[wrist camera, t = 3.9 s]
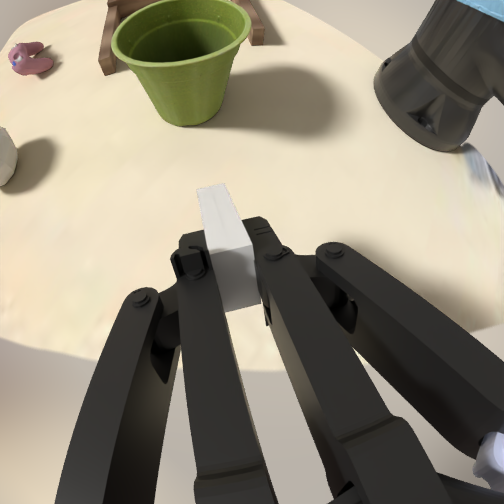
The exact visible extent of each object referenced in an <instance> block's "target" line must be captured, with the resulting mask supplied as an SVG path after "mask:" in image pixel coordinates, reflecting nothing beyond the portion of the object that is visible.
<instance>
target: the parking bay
mask: <svg viewBox="0 0 504 504" xmlns="http://www.w3.org/2000/svg"><path fill="white" fill-rule="evenodd" d="M159 1H162V0H108V2H107V5H108V12H107V16H106V21H105V26H104V30H103V35H102V41H101V46H100V52H99V58H98V61H99V64H100V66H101V68H102V71H103V73H104V75H105V76H106V75H109V74H112V73H115V71H116V58H117V56H116V55H115V54H114V52H113V51H112V48H111V40H112V36H113V34H114V32H115V31H116V29H117V28H118V26H119V25H120V23H121V18H123V17H126V16H130V15H132V14H133V13H135V12H136V11H138V10H140V9H142V8H144V7H146V6H148V5H150V4H153V3H156V2H159ZM231 2H233V3H235V4H237V5H238V6H240V7H242V8H243V9H244V10H245V11H246V12H247V13H248V15H249V17H250V19H251V24H252V25H251V30H250V33H249V35H248V39H249V41H250V43H251V45H263V38H264V31H265V28H264V26H263V24H262V22H261V20H260V18H259V17H258V15H257V13H256V11H255V9H254V8H253V6H252V4H251V2H250V1H249V0H231Z"/></svg>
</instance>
